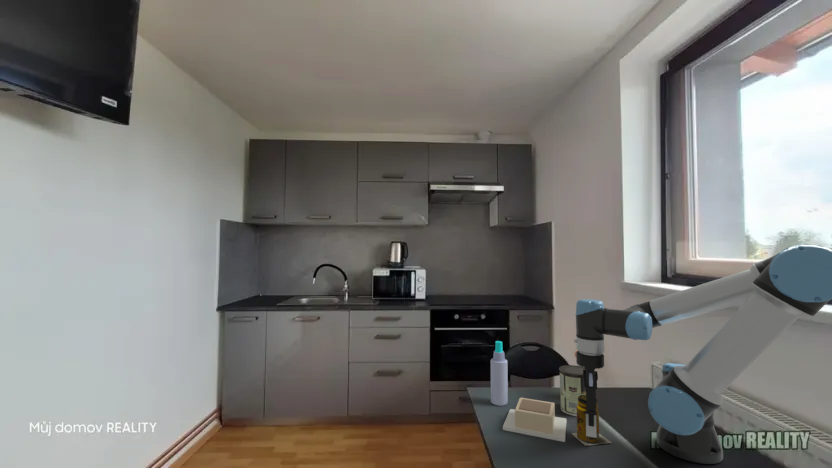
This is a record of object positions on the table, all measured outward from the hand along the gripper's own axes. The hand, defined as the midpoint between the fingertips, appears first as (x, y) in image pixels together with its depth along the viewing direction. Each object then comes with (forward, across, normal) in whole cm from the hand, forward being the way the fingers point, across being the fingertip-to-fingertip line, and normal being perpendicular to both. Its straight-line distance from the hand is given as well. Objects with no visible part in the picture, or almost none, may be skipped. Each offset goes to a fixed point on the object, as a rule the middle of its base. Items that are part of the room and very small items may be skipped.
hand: (590, 430), depth 111 cm
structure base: (+2, -2, -16) cm, 16 cm away
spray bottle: (+3, -15, -30) cm, 34 cm away
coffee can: (+3, -19, -4) cm, 20 cm away
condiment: (+3, 0, 0) cm, 3 cm away
